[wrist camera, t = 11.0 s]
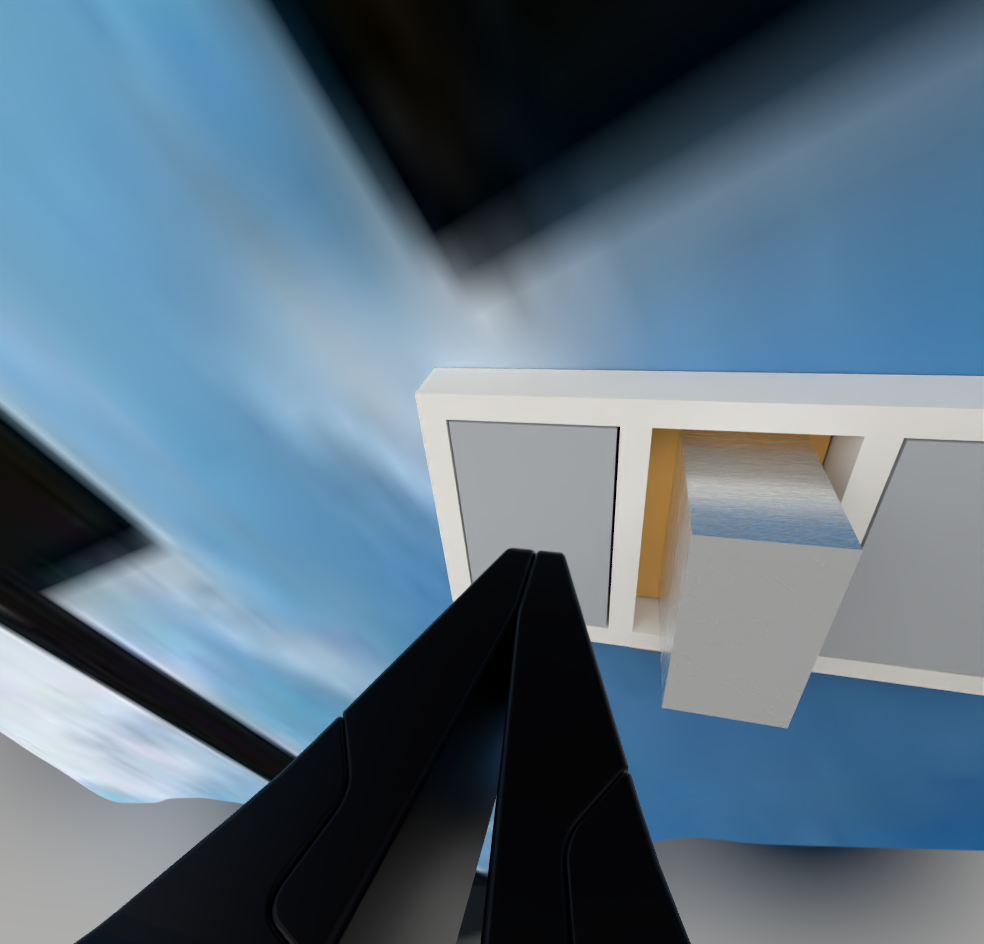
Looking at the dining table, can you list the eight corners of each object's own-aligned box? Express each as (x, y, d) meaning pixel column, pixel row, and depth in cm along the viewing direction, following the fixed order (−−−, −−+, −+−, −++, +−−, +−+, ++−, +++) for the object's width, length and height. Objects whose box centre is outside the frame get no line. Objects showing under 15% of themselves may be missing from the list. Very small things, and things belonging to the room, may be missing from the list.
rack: (1175, 379, 15) (1246, 416, 13) (983, 655, 22) (1013, 704, 20) (434, 367, 20) (414, 393, 18) (469, 592, 27) (457, 627, 25)
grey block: (805, 429, 18) (862, 550, 13) (757, 594, 22) (787, 728, 17) (680, 424, 19) (692, 534, 14) (658, 583, 23) (661, 707, 18)
